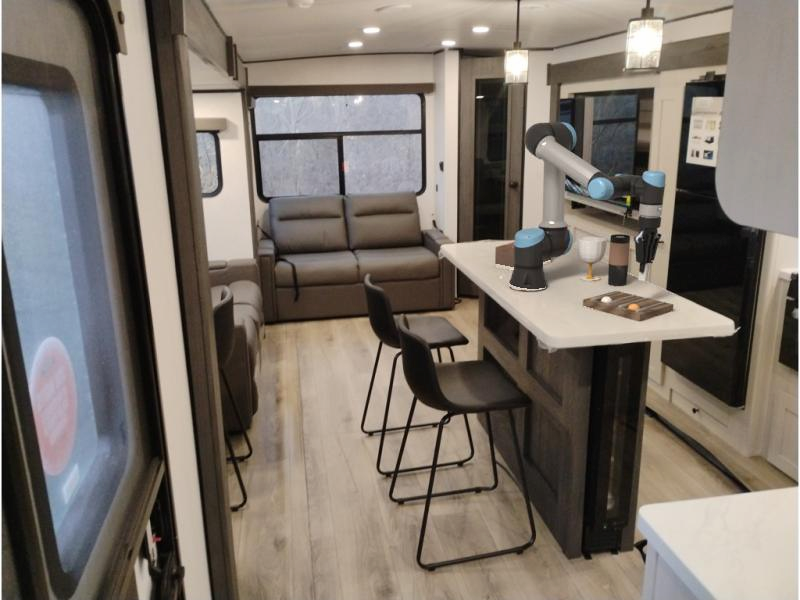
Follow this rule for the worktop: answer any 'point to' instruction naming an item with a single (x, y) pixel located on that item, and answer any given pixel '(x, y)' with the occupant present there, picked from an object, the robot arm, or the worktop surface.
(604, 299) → the cream ball
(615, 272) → the travel mug
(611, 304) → the hole deck
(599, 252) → the cup
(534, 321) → the worktop surface
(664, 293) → the worktop surface
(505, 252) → the tissue box cover
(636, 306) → the orange ball
